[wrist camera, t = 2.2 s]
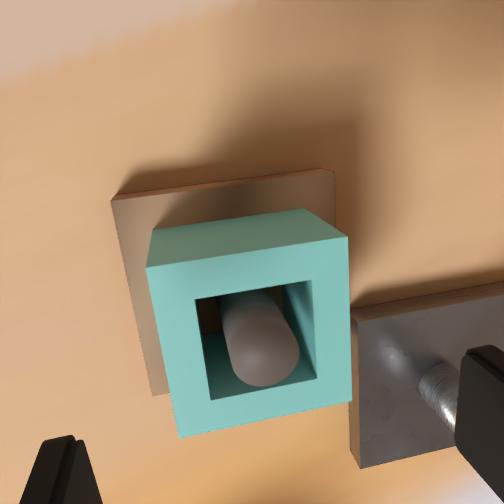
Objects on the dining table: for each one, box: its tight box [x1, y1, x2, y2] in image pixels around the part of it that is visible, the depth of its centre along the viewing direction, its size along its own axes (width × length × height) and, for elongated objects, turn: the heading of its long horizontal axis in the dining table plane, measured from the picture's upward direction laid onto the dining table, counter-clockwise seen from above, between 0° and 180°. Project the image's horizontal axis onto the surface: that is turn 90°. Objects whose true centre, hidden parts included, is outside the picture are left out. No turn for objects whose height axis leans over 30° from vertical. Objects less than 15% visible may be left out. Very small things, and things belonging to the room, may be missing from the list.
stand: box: [110, 168, 336, 396], centre depth 17 cm, size 10×10×8 cm
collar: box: [145, 208, 352, 438], centre depth 17 cm, size 7×7×5 cm
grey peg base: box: [349, 281, 504, 469], centre depth 22 cm, size 10×10×8 cm
